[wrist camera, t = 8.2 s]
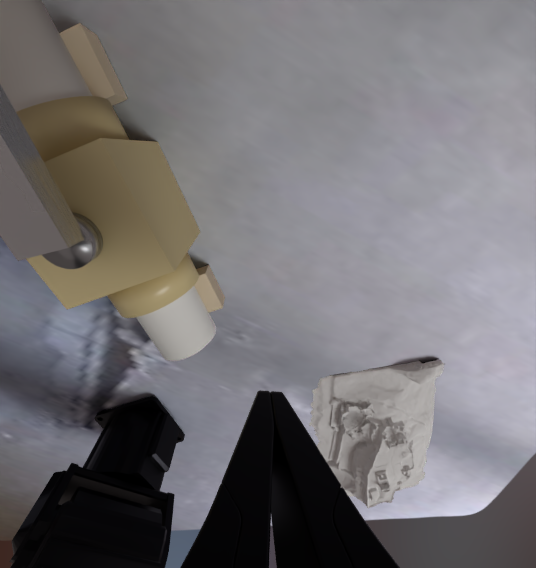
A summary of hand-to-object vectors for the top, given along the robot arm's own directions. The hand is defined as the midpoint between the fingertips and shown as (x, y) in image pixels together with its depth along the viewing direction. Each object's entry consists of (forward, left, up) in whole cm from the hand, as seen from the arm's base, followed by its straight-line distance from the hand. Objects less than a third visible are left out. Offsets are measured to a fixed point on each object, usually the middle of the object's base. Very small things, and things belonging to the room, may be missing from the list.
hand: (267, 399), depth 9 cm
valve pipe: (-6, +7, -13) cm, 16 cm away
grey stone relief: (+4, -24, -14) cm, 28 cm away
